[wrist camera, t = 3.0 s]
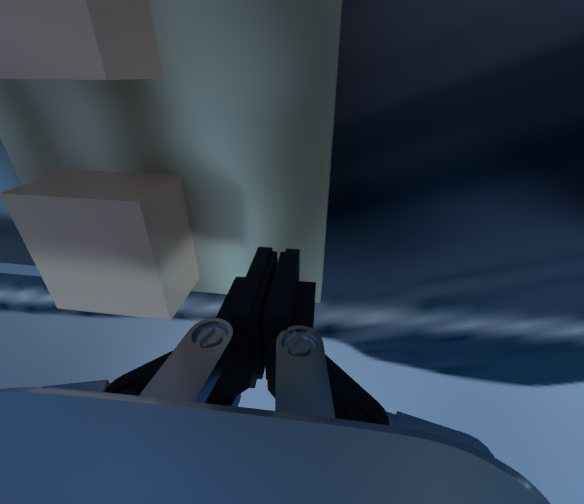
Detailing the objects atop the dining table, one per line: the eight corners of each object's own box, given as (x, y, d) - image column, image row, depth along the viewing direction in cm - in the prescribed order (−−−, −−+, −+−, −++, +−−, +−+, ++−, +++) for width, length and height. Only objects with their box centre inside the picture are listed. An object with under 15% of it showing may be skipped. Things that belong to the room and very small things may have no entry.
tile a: (180, 175, 14) (139, 201, 11) (199, 278, 17) (170, 320, 14) (66, 169, 15) (-1, 193, 12) (104, 269, 18) (57, 308, 15)
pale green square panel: (351, -121, 12) (357, -225, 8) (324, 257, 21) (320, 303, 17) (3, -99, 14) (-144, -173, 10) (115, 241, 23) (65, 278, 19)
